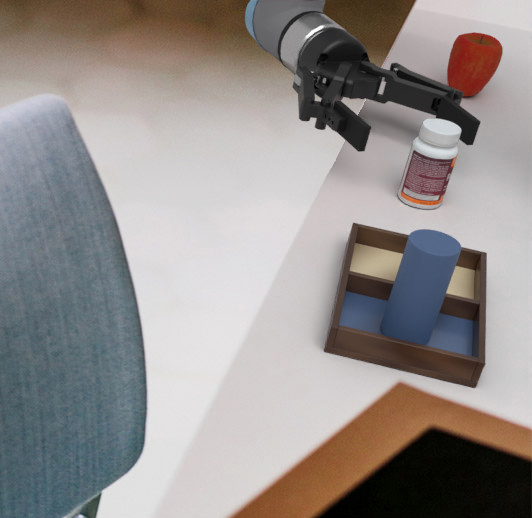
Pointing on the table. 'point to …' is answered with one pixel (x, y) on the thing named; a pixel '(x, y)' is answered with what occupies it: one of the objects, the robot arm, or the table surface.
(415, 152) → the pill bottle
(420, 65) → the table surface
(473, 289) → the sorting tray
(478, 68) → the apple
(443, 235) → the blue cylinder
